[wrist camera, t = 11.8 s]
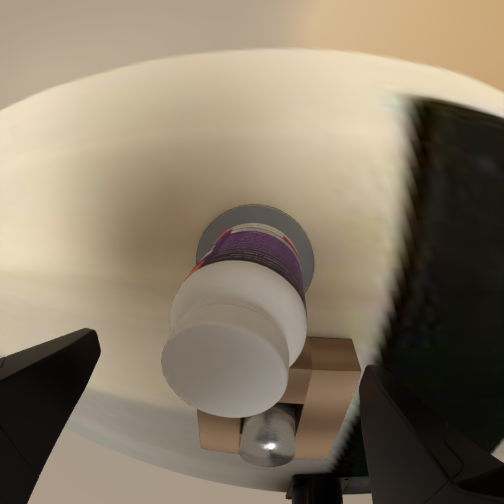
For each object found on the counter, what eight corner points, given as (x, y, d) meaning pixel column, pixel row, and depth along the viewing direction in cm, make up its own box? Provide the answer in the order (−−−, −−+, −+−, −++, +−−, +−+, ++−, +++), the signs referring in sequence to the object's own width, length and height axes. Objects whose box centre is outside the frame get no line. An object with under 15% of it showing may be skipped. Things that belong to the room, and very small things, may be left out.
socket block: (323, 428, 22) (325, 459, 19) (209, 418, 23) (201, 448, 20) (351, 339, 19) (361, 371, 16) (206, 326, 20) (193, 356, 17)
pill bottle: (210, 217, 17) (130, 286, 8) (306, 225, 17) (329, 311, 7) (208, 301, 19) (151, 415, 10) (294, 311, 18) (296, 438, 9)
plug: (291, 407, 21) (290, 468, 16) (248, 403, 21) (238, 463, 16) (298, 376, 20) (299, 441, 14) (251, 372, 20) (240, 436, 15)
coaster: (305, 317, 19) (305, 322, 19) (199, 306, 20) (196, 310, 19) (319, 210, 17) (320, 212, 16) (199, 200, 17) (196, 202, 17)
